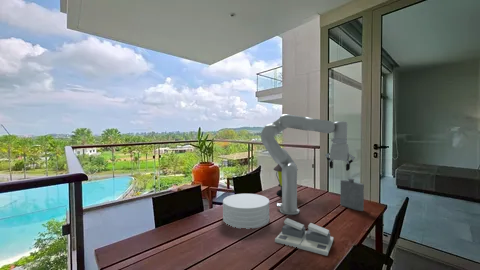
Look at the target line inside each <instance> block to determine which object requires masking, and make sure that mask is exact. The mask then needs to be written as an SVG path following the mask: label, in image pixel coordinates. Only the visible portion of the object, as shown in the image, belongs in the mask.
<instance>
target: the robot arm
mask: <svg viewBox="0 0 480 270" xmlns="http://www.w3.org/2000/svg"><path fill="white" fill-rule="evenodd" d="M287 129H294V130H301V131H310V132H317V133H325V134H331V133H333V138H332V139H331V140H330V142H333V143H331V145H330V146H331V147H330V152H329V153H326V154H325V158H326V160H327V161H328V163H329V166H328V167H329V169H333V168H334V161H341V162H346V165H345V170H346V171H347V172H348V171H349V170H350V168H351V163H353V162H354V160H355V159H356V156H354V155H352V154H351V153H350V151H349V150H350V148H349V143H348V122H347V121H344V120H343V121H341V120H340V121H332V120H326V119H320V118H313V117H309V116H301V115H295V114H290V113H289V114H288V113H287V114H286V113H283V114H281V115H280V116H279V118H278V119H276V120H274V121H273V122H271V123H268V124H266V125H264V127H263V128H262V131H261V134H260V138H261V142H262V145H263V146H264V148H265V149H266V151H267V152H268V153H269V154H268V155H269V156H270V157H271V158H272V160H273V162H274V163H276V164H277V165H278V164H279V165H280V166H281V168H282V197H281V203H279V202H276V207H277V208H279V212H280V213H281V214H283V215H289V216H295V215H298V214H300V209H299V208H298V170H297V169H298V166H297V164H296V162H295V161H294V160H293V158H292V156H290V154H289V153H288V151H287V150H286V149H284V148H282V146H281V145H280V144H279V142H278V141H277V140H276V137H275V136H277V135H278V134H279V133H281V132H283V131H285V130H287ZM350 158H351V159H350Z"/></svg>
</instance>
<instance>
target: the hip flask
mask: <svg viewBox="0 0 480 270" xmlns="http://www.w3.org/2000/svg"><path fill="white" fill-rule="evenodd" d="M364 187H365V183H361V182H360V183H359V182H355V178H351V177H348V179H347V180H346V179H341V180H340V198H339V199H340V201H339V202H340V206H342V207H345V208H347V209H352V210H354V211H360V212H364V205H365V204H364V203H365V201H364V197H365V195H364V194H365V191H364V189H365V188H364Z"/></svg>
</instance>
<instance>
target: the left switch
mask: <svg viewBox="0 0 480 270" xmlns="http://www.w3.org/2000/svg"><path fill="white" fill-rule="evenodd" d="M283 224H284V225H285V224H287V225H289V226H292V227H294V228H296V229H299V230H302V229H303V227H305V224H303V223H301V222H299V221H295V220H293V219H291V218H288V217H287V218H285V220H284V221H283Z"/></svg>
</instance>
